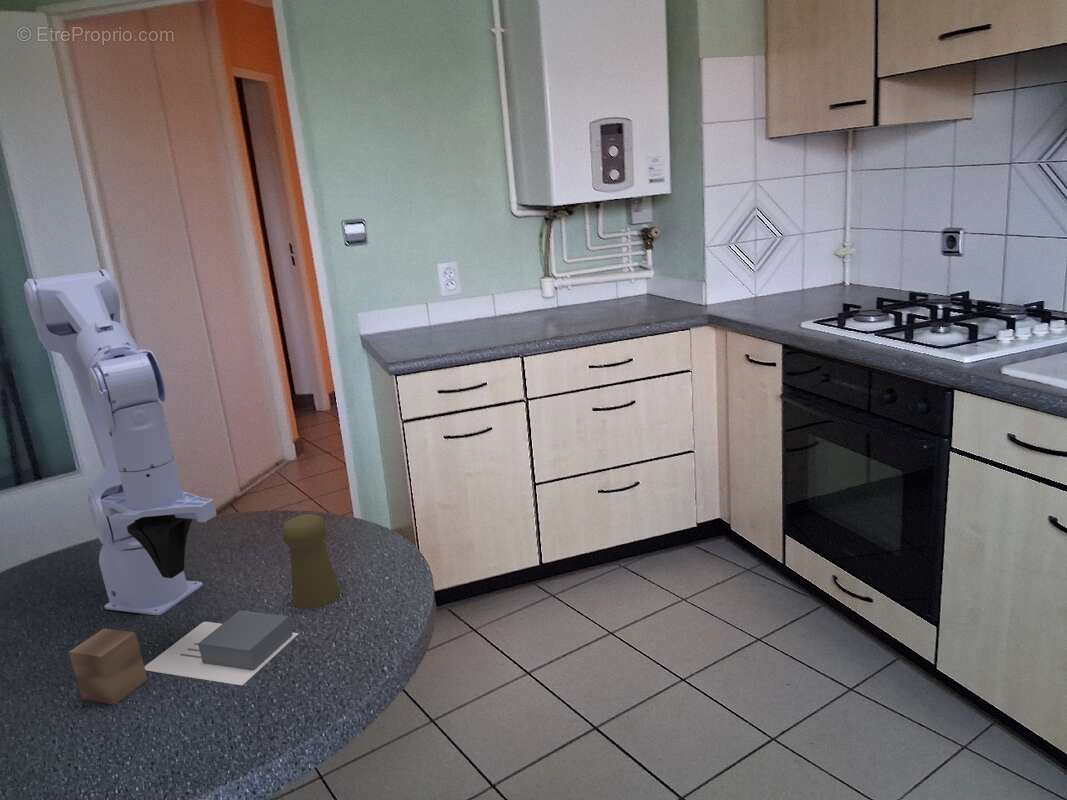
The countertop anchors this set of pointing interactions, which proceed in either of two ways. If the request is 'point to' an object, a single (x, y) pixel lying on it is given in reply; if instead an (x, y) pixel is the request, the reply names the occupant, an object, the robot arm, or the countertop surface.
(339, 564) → the countertop surface
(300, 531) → the cork
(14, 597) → the countertop surface
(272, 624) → the metal block
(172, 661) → the letter
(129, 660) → the walnut block
